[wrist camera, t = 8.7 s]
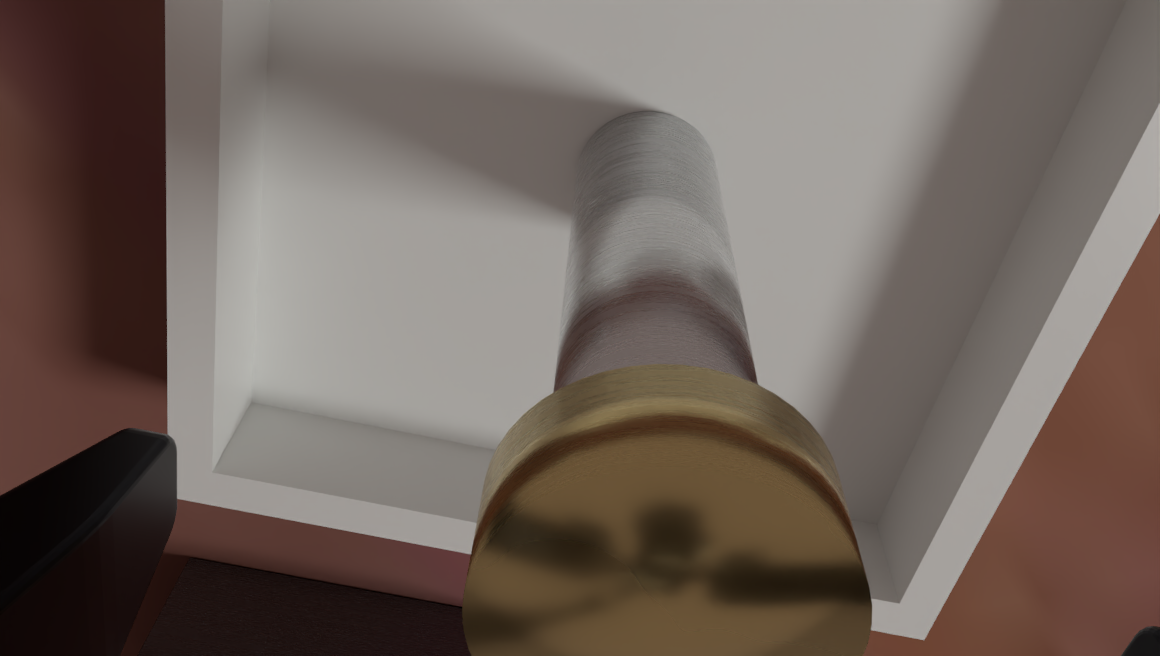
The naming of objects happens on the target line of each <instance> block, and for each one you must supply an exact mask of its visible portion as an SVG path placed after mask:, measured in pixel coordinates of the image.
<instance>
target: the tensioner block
mask: <svg viewBox="0 0 1160 656" xmlns="http://www.w3.org/2000/svg"><path fill="white" fill-rule="evenodd" d="M138 656H472V655H471V653H470V651H469V649H468V645H467V642H466V638H465V634H464V630H463V618H462V608H458V607H452V606H447V605H441V604H436V603H431V602H425V601H420V600H415V599H409V598H404V597H398V596H393V595H388V594H382V593H377V592H372V591H366V590H361V589H355V588H350V587H345V586H339V585H334V584H329V583H323V582H318V581H312V580H307V579H302V578H296V577H291V576H286V575H280V574H275V573H269V572H264V571H259V570H253V569H248V568H243V567H237V566H232V565H226V564H221V563H216V562H210V561H205V560H200V559H194V558H189V560H188V562H187V564H186V566H185V568H184V570H183V571H182V573H181V575H180V577H179V579H178V581H177V583H176V585H175V586H174V588H173V590H172V592H171V594H170V596H169V598H168V600H167V601H166V603H165V605H164V607H163V609H162V611H161V613H160V615H159V616H158V618H157V620H156V622H155V624H154V626H153V628H152V630H151V631H150V633H149V635H148V637H147V639H146V641H145V643H144V645H143V646H142V648H141V650H140V652H139V654H138Z"/></svg>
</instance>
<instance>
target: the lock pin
mask: <svg viewBox="0 0 1160 656" xmlns="http://www.w3.org/2000/svg"><path fill="white" fill-rule="evenodd" d="M462 618H463V630H464V634H465V638H466V642H467V645H468V649H469V651H470V653H471V655H472V656H863V654H864V651H865V649H866V646H867V644H868V640H869V635H870V630H871V626H872V601H871V595H870V588H869V584H868V580H867V577H866V573H865V569H864V566H863V562H862V558H861V555H860V551H859V547H858V544H857V540H856V536H855V533H854V529H853V525H852V522H851V518H850V514H849V511H848V507H847V503H846V500H845V496H844V493H843V489H842V485H841V482H840V478H839V474H838V471H837V468H836V466H835V463H834V460H833V457H832V455H831V453H830V451H829V449H828V447H827V446H826V444H825V442H824V440H823V438H822V437H821V436H820V435H819V433H818V432H817V431H816V429H815V428H814V427H813V426H812V424H811V423H810V422H809V421H808V420H807V419H806V418H805V417H804V416H803V415H802V414H801V413H800V412H799V411H797V410H796V409H795V408H794V407H793V406H792V405H790V404H789V403H787V402H786V401H785V400H783V399H782V398H780V397H779V396H777V395H776V394H774V393H773V392H771V391H769V390H767V389H765V388H763V387H761V386H759V385H758V381H757V376H756V371H755V366H754V361H753V355H752V350H751V345H750V340H749V334H748V329H747V324H746V319H745V314H744V308H743V303H742V298H741V293H740V288H739V282H738V277H737V272H736V267H735V262H734V256H733V251H732V246H731V241H730V235H729V230H728V225H727V220H726V215H725V209H724V204H723V199H722V194H721V189H720V183H719V178H718V173H717V168H716V163H715V158H714V155H713V153H712V150H711V148H710V146H709V144H708V143H707V141H706V140H705V138H704V137H703V136H702V135H701V134H700V133H699V131H698V130H697V129H695V128H694V127H693V126H692V125H690V124H689V123H688V122H686V121H684V120H682V119H681V118H678V117H676V116H674V115H671V114H667V113H663V112H657V111H639V112H633V113H628V114H625V115H622V116H619V117H617V118H615V119H613V120H611V121H609V122H608V123H606V124H605V125H603V126H602V127H601V128H600V129H598V130H597V131H596V132H595V133H594V134H593V136H592V137H591V138H590V139H589V140H588V142H587V144H586V145H585V147H584V148H583V151H582V153H581V155H580V158H579V162H578V166H577V173H576V182H575V192H574V201H573V211H572V220H571V230H570V239H569V249H568V258H567V268H566V277H565V287H564V296H563V306H562V315H561V324H560V334H559V343H558V353H557V362H556V372H555V381H554V391H553V393H552V394H550V395H549V396H547V397H545V398H544V399H542V400H541V401H539V402H538V403H537V404H536V405H534V406H533V407H532V408H531V409H529V410H528V411H527V412H526V413H524V414H523V415H522V416H521V417H520V419H519V420H518V421H517V422H516V423H515V424H514V425H513V426H512V427H511V428H510V429H509V431H508V432H507V433H506V435H505V436H504V438H503V439H502V441H501V442H500V443H499V445H498V447H497V449H496V451H495V453H494V455H493V457H492V459H491V461H490V463H489V467H488V470H487V473H486V477H485V480H484V485H483V491H482V496H481V502H480V507H479V513H478V518H477V524H476V529H475V535H474V540H473V546H472V551H471V557H470V562H469V568H468V573H467V579H466V584H465V590H464V598H463V607H462Z"/></svg>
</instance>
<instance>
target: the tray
mask: <svg viewBox="0 0 1160 656" xmlns="http://www.w3.org/2000/svg"><path fill="white" fill-rule="evenodd" d="M165 82H166V239H167V395H168V435H169V436H171V437H172V438H173V439H174V440H175V444H176V447H177V499H182V500H187V501H192V502H197V503H203V504H208V505H213V506H219V507H224V508H229V509H234V510H240V511H245V512H250V513H255V514H261V515H266V516H271V517H277V518H282V519H287V520H292V521H298V522H303V523H308V524H314V525H319V526H324V527H329V528H335V529H340V530H345V531H351V532H356V533H361V534H366V535H372V536H377V537H382V538H388V539H393V540H398V541H403V542H409V543H414V544H419V545H425V546H430V547H435V548H440V549H446V550H451V551H456V552H461V553H467V554H471V551H472V546H473V540H474V535H475V529H476V524H477V518H478V513H479V507H480V502H481V496H482V491H483V485H484V480H485V477H486V473H487V470H488V467H489V463H490V461H491V459H492V457H493V455H494V453H495V451H496V449H497V447H498V445H499V443H500V442H501V441H502V439H503V438H504V436H505V435H506V433H507V432H508V431H509V429H510V428H511V427H512V426H513V425H514V424H515V423H516V422H517V421H518V420H519V419H520V417H521V416H522V415H523V414H524V413H526V412H527V411H528V410H529V409H531V408H532V407H533V406H534V405H536V404H537V403H538V402H539V401H541V400H542V399H544V398H545V397H547V396H549V395H550V394H552V393H553V391H554V381H555V372H556V362H557V353H558V343H559V334H560V324H561V315H562V306H563V296H564V287H565V277H566V268H567V258H568V249H569V239H570V230H571V220H572V211H573V201H574V192H575V182H576V173H577V166H578V162H579V158H580V155H581V153H582V151H583V148H584V147H585V145H586V144H587V142H588V140H589V139H590V138H591V137H592V136H593V134H594V133H595V132H596V131H597V130H598V129H600V128H601V127H602V126H603V125H605V124H606V123H608V122H609V121H611V120H613V119H615V118H617V117H619V116H622V115H625V114H628V113H633V112H639V111H657V112H663V113H667V114H671V115H674V116H676V117H678V118H681V119H682V120H684V121H686V122H688V123H689V124H690V125H692V126H693V127H694V128H695V129H697V130H698V131H699V133H700V134H701V135H702V136H703V137H704V138H705V140H706V141H707V143H708V144H709V146H710V148H711V150H712V153H713V155H714V158H715V163H716V168H717V173H718V178H719V183H720V189H721V194H722V199H723V204H724V209H725V215H726V220H727V225H728V230H729V235H730V241H731V246H732V251H733V256H734V262H735V267H736V272H737V277H738V282H739V288H740V293H741V298H742V303H743V308H744V314H745V319H746V324H747V329H748V334H749V340H750V345H751V350H752V355H753V361H754V366H755V371H756V376H757V381H758V385H759V386H761V387H763V388H765V389H767V390H769V391H771V392H773V393H774V394H776V395H777V396H779V397H780V398H782V399H783V400H785V401H786V402H787V403H789V404H790V405H792V406H793V407H794V408H795V409H796V410H797V411H799V412H800V413H801V414H802V415H803V416H804V417H805V418H806V419H807V420H808V421H809V422H810V423H811V424H812V426H813V427H814V428H815V429H816V431H817V432H818V433H819V435H820V436H821V437H822V438H823V440H824V442H825V444H826V446H827V447H828V449H829V451H830V453H831V455H832V457H833V460H834V463H835V466H836V468H837V471H838V474H839V478H840V482H841V485H842V489H843V493H844V496H845V500H846V503H847V507H848V511H849V514H850V518H851V522H852V525H853V529H854V533H855V536H856V540H857V544H858V547H859V551H860V555H861V558H862V562H863V566H864V569H865V573H866V577H867V580H868V584H869V588H870V595H871V601H872V626H871V630H873V631H879V632H884V633H889V634H895V635H900V636H905V637H910V638H916V639H921V640H924V639H925V638H926V636H927V634H928V632H929V630H930V629H931V627H932V625H933V623H934V621H935V620H936V618H937V616H938V614H939V612H940V610H941V609H942V607H943V605H944V603H945V601H946V600H947V598H948V596H949V594H950V592H951V591H952V589H953V587H954V585H955V583H956V581H957V580H958V578H959V576H960V574H961V572H962V571H963V569H964V567H965V565H966V563H967V562H968V560H969V558H970V556H971V554H972V553H973V551H974V549H975V547H976V545H977V543H978V542H979V540H980V538H981V536H982V534H983V533H984V531H985V529H986V527H987V525H988V524H989V522H990V520H991V518H992V516H993V514H994V513H995V511H996V509H997V507H998V505H999V504H1000V502H1001V500H1002V498H1003V496H1004V495H1005V493H1006V491H1007V489H1008V487H1009V485H1010V484H1011V482H1012V480H1013V478H1014V476H1015V475H1016V473H1017V471H1018V469H1019V467H1020V466H1021V464H1022V462H1023V460H1024V458H1025V456H1026V455H1027V453H1028V451H1029V449H1030V447H1031V446H1032V444H1033V442H1034V440H1035V438H1036V437H1037V435H1038V433H1039V431H1040V429H1041V427H1042V426H1043V424H1044V422H1045V420H1046V418H1047V417H1048V415H1049V413H1050V411H1051V409H1052V408H1053V406H1054V404H1055V402H1056V400H1057V398H1058V397H1059V395H1060V393H1061V391H1062V389H1063V388H1064V386H1065V384H1066V382H1067V380H1068V379H1069V377H1070V375H1071V373H1072V371H1073V370H1074V368H1075V366H1076V364H1077V362H1078V360H1079V359H1080V357H1081V355H1082V353H1083V351H1084V350H1085V348H1086V346H1087V344H1088V342H1089V341H1090V339H1091V337H1092V335H1093V333H1094V331H1095V330H1096V328H1097V326H1098V324H1099V322H1100V321H1101V319H1102V317H1103V315H1104V313H1105V312H1106V310H1107V308H1108V306H1109V304H1110V302H1111V301H1112V299H1113V297H1114V295H1115V293H1116V292H1117V290H1118V288H1119V286H1120V284H1121V283H1122V281H1123V279H1124V277H1125V275H1126V273H1127V272H1128V270H1129V268H1130V266H1131V264H1132V263H1133V261H1134V259H1135V257H1136V255H1137V254H1138V252H1139V250H1140V248H1141V246H1142V244H1143V243H1144V241H1145V239H1146V237H1147V235H1148V234H1149V232H1150V230H1151V228H1152V226H1153V225H1154V223H1155V221H1156V219H1157V217H1158V215H1159V214H1160V0H165Z"/></svg>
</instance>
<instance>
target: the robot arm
mask: <svg viewBox="0 0 1160 656" xmlns="http://www.w3.org/2000/svg"><path fill="white" fill-rule="evenodd" d="M176 511H177V447H176V444H175V440H174V439H173V438H172V437H171V436H169V435H167V434H162V433H157V432H152V431H147V430H141V429H136V428H127V429H123V430H121V431H119V432H117V433H115V434H113V435H111V436H109V437H108V438H106V439H104V440H102V441H100V442H98V443H96V444H95V445H93V446H91V447H89V448H87V449H85V450H84V451H82V452H80V453H78V454H76V455H74V456H72V457H71V458H69V459H67V460H65V461H63V462H61V463H60V464H58V465H56V466H54V467H52V468H50V469H49V470H47V471H45V472H43V473H41V474H39V475H37V476H36V477H34V478H32V479H30V480H28V481H26V482H25V483H23V484H21V485H19V486H17V487H15V488H13V489H12V490H10V491H8V492H6V493H4V494H2V495H1V496H0V656H120V654H121V651H122V649H123V647H124V644H125V642H126V639H127V637H128V634H129V632H130V630H131V627H132V625H133V622H134V620H135V618H136V615H137V613H138V610H139V608H140V606H141V603H142V601H143V598H144V596H145V594H146V591H147V589H148V586H149V584H150V581H151V579H152V577H153V574H154V572H155V569H156V567H157V565H158V562H159V560H160V557H161V555H162V553H163V550H164V548H165V545H166V543H167V541H168V538H169V536H170V533H171V531H172V528H173V524H174V521H175V516H176ZM1121 656H1160V627H1156V626H1151V627H1146V628H1144V629H1142V630H1140V631H1139V632H1138V633H1137V634H1136V635H1135V637H1134V638H1133V639H1132V641H1131V642H1130V644H1129V645H1128V646H1127V648H1126V649H1125V651H1124V652H1123V654H1122V655H1121Z"/></svg>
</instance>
